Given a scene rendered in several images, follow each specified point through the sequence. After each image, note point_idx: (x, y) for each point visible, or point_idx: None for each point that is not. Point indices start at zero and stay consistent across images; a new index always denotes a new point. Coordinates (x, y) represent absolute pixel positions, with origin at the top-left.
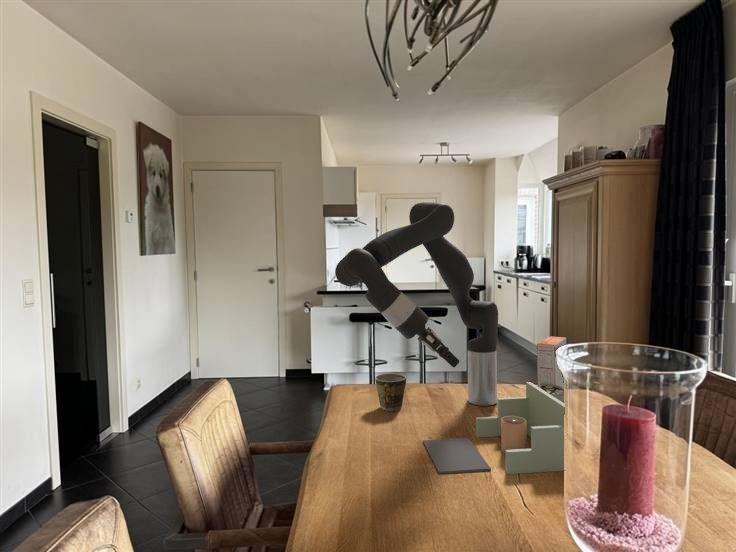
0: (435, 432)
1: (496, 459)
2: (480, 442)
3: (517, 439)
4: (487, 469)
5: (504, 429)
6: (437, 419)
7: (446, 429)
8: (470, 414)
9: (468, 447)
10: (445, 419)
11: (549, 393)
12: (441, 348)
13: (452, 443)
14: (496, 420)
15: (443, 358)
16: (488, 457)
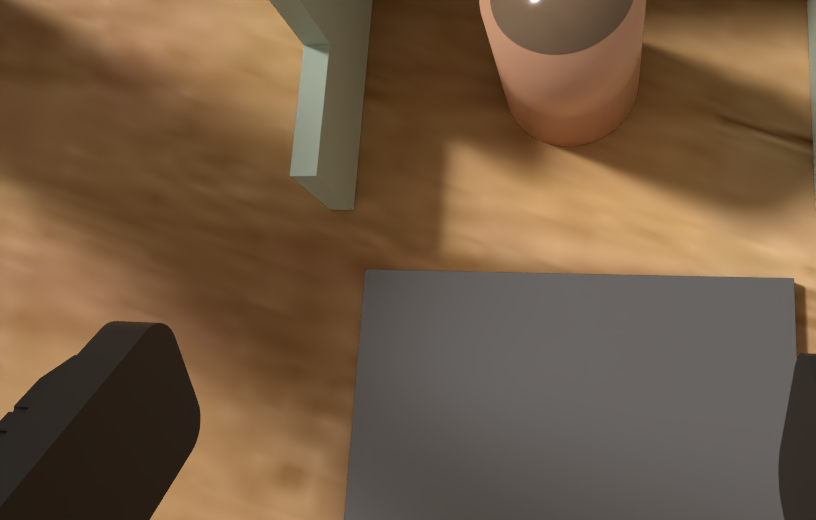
0: (229, 420)
1: (650, 204)
2: (418, 215)
3: (642, 41)
4: (793, 299)
5: (590, 80)
6: (59, 348)
7: (205, 343)
8: (50, 147)
9: (495, 308)
10: (72, 303)
11: None
12: (64, 499)
13: (422, 381)
14: (332, 66)
15: (186, 451)
16: (618, 237)
